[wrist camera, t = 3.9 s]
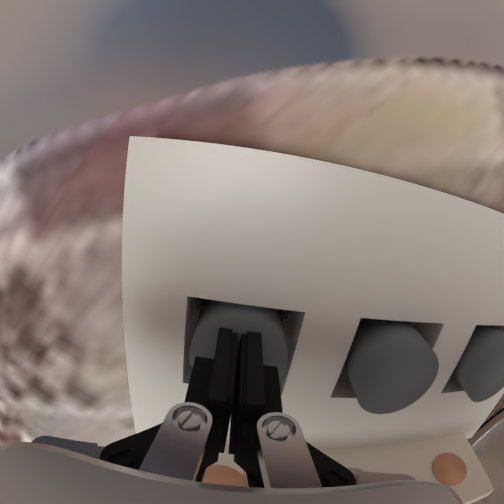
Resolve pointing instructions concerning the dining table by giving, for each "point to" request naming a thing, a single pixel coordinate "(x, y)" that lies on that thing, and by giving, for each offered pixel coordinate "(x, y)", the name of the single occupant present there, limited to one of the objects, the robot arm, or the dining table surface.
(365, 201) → the button panel
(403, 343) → the button middle
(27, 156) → the dining table surface
